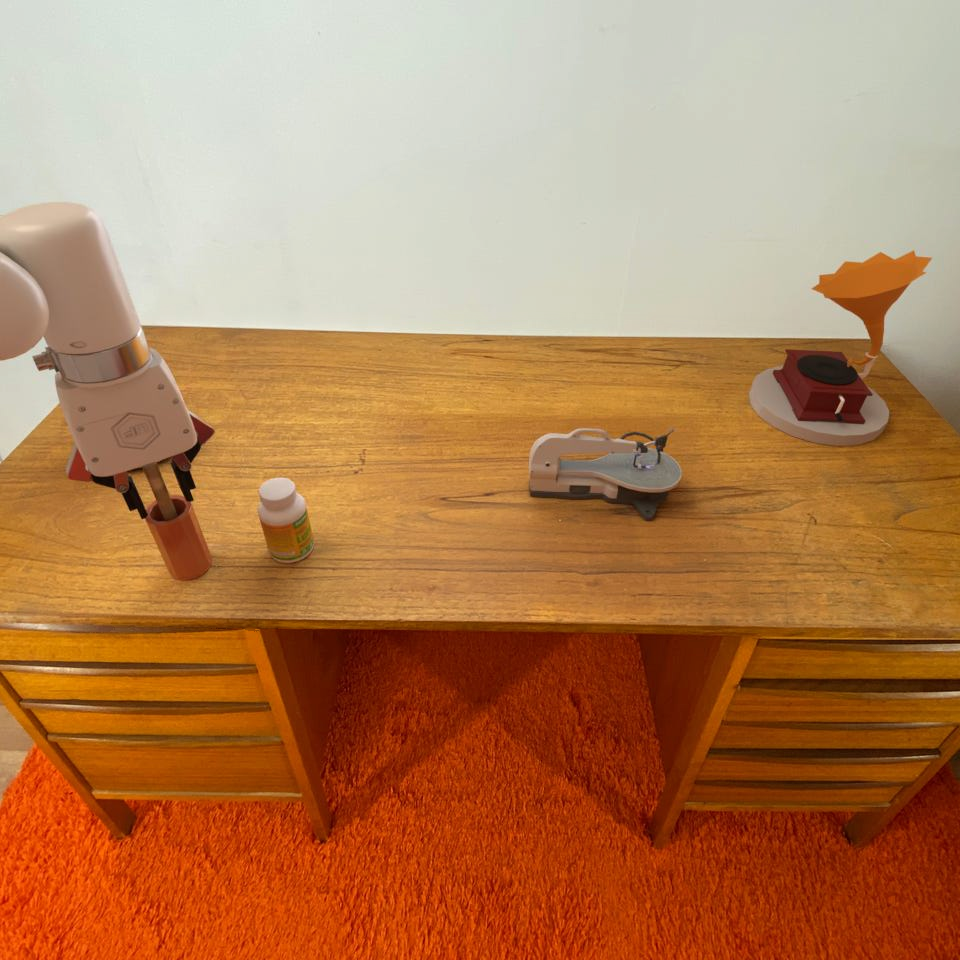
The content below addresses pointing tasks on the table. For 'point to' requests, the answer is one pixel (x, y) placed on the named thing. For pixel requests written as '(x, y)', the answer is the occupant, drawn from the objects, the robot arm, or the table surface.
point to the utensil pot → (180, 540)
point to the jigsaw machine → (604, 469)
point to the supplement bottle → (284, 521)
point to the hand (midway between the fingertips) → (164, 501)
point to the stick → (160, 491)
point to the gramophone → (838, 361)
